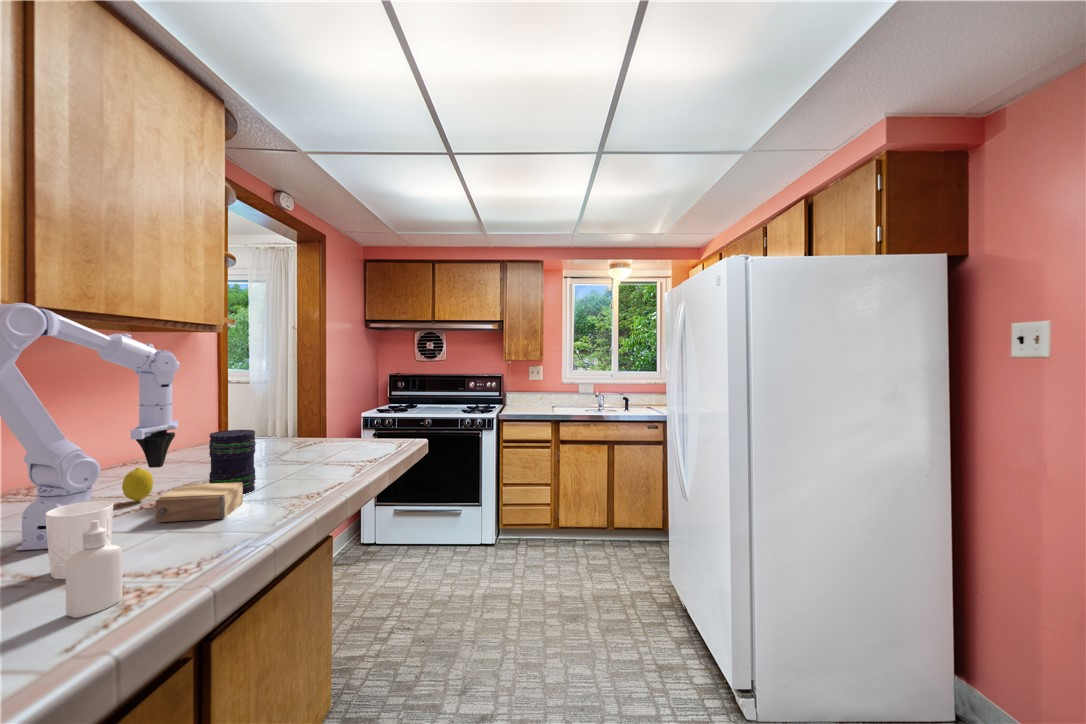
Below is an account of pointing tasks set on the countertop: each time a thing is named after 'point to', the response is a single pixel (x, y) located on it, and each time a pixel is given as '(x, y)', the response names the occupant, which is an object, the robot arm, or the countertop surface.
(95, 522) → the eye dropper bottle
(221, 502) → the door
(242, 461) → the storage jar
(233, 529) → the countertop surface
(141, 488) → the lemon
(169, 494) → the cabinet
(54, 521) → the white cup
